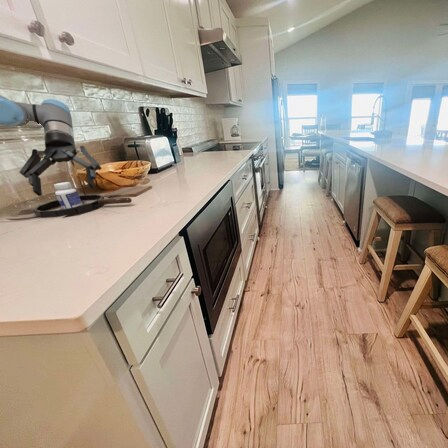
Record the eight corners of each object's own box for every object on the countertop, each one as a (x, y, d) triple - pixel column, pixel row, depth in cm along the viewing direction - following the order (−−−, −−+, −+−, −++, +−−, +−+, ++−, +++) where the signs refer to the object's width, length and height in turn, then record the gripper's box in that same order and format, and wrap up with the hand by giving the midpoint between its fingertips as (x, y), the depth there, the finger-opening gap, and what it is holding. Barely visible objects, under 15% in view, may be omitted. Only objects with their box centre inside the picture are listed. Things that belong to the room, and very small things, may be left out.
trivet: (104, 198, 92) (103, 195, 91) (123, 189, 103) (122, 187, 102) (136, 196, 92) (135, 193, 92) (152, 188, 103) (151, 185, 103)
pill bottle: (86, 205, 84) (75, 180, 80) (81, 210, 80) (69, 183, 76) (66, 208, 82) (55, 182, 78) (60, 213, 78) (47, 186, 74)
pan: (22, 220, 73) (17, 211, 72) (68, 202, 88) (65, 195, 87) (117, 214, 74) (113, 206, 72) (146, 198, 89) (144, 190, 88)
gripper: (107, 143, 93) (115, 189, 86) (18, 149, 82) (21, 202, 76) (98, 128, 86) (107, 177, 80) (1, 133, 76) (3, 190, 70)
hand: (65, 189), depth 78 cm, fingers open, 13 cm apart
